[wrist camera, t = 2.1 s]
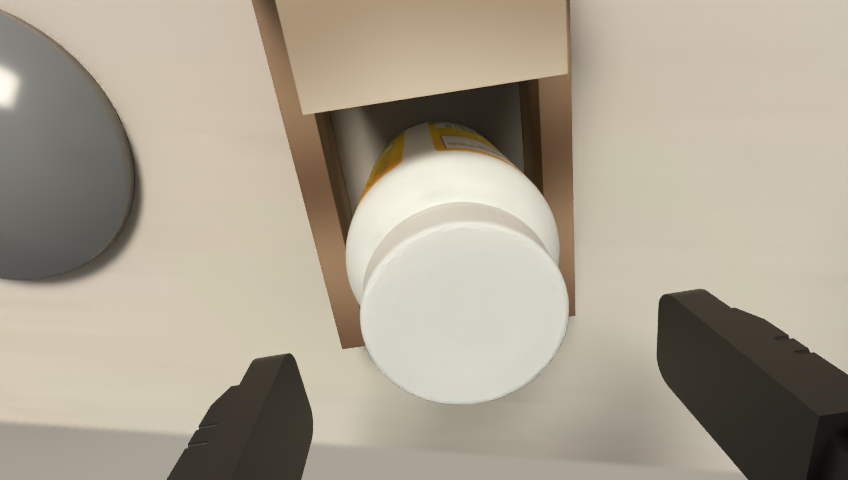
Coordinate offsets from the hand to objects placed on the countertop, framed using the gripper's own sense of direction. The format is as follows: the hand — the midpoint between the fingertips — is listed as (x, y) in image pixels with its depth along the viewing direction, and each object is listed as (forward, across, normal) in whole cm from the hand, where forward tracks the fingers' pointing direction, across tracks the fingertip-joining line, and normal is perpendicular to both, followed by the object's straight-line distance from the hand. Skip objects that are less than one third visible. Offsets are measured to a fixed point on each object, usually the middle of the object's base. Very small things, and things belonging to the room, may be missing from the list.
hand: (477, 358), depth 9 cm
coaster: (+9, +16, -6) cm, 19 cm away
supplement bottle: (+9, 0, -2) cm, 9 cm away
